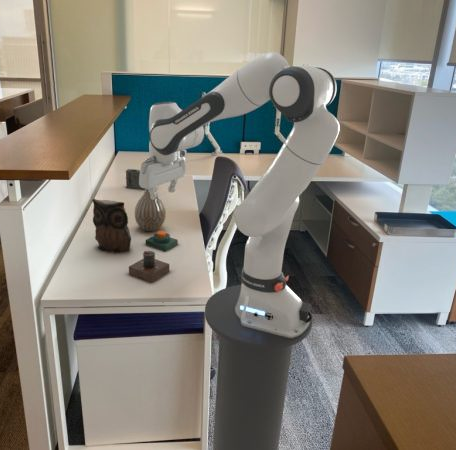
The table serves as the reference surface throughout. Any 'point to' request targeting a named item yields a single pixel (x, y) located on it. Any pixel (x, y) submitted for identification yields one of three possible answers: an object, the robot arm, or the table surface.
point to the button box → (162, 242)
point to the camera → (132, 179)
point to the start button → (161, 234)
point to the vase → (149, 212)
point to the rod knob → (149, 259)
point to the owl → (111, 226)
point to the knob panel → (149, 270)
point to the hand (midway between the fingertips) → (162, 195)
